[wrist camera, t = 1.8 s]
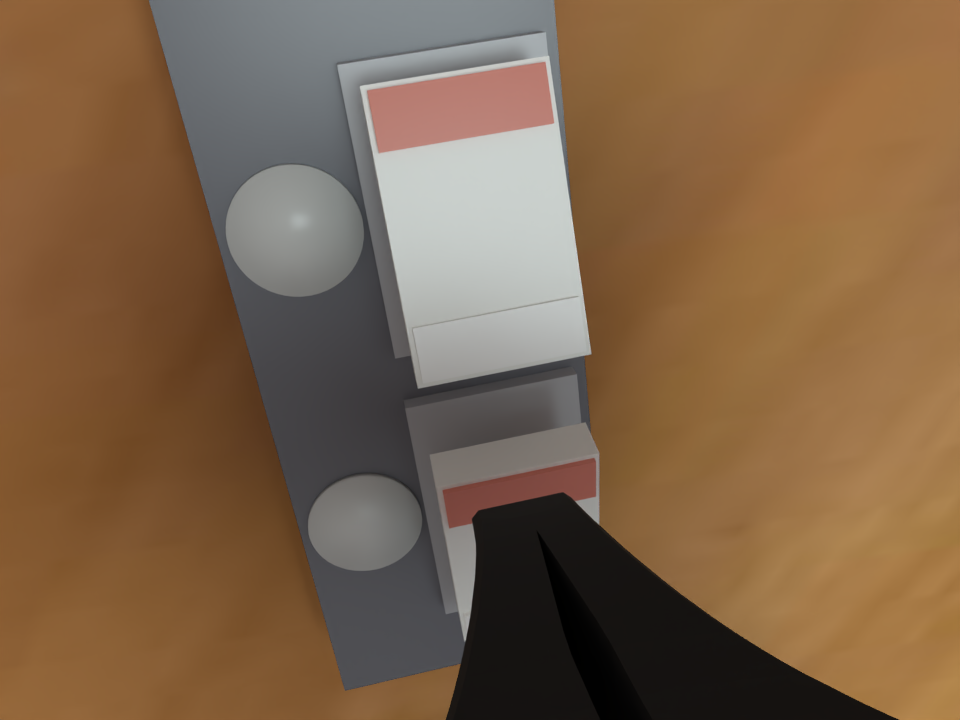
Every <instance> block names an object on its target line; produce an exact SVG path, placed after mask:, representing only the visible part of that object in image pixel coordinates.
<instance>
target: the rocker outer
mask: <svg viewBox="0 0 960 720" xmlns="http://www.w3.org/2000/svg"><path fill="white" fill-rule="evenodd" d="M360 95H361V100H362V105H363V110H364V115H365V121H366V126H367V131H368V136H369V141H370V147H371V152H372V157H373V162H374V167H375V172H376V178H377V183H378V188H379V193H380V198H381V204H382V209H383V214H384V219H385V224H386V229H387V235H388V240H389V245H390V250H391V255H392V261H393V266H394V271H395V276H396V281H397V286H398V292H399V297H400V302H401V307H402V312H403V318H404V323H405V328H406V333H407V338H408V343H409V349H410V354H411V359H412V364H413V369H414V375H415V379H416V383H417V386H418V389H419V388H424V387H429V386H434V385H439V384H444V383H449V382H454V381H459V380H464V379H469V378H474V377H479V376H484V375H489V374H494V373H500V372H505V371H510V370H515V369H520V368H525V367H530V366H535V365H540V364H545V363H550V362H555V361H560V360H565V359H570V358H575V357H580V356H585V355H590V354H591V348H590V341H589V333H588V326H587V319H586V312H585V305H584V298H583V291H582V284H581V277H580V270H579V263H578V256H577V249H576V242H575V235H574V228H573V221H572V214H571V207H570V200H569V193H568V186H567V178H566V171H565V164H564V157H563V150H562V143H561V136H560V129H559V122H558V115H557V108H556V101H555V94H554V87H553V80H552V73H551V66H550V59H549V56H543V57H537V58H531V59H524V60H518V61H512V62H506V63H500V64H493V65H487V66H481V67H475V68H468V69H462V70H456V71H450V72H444V73H437V74H431V75H425V76H419V77H412V78H406V79H400V80H394V81H388V82H381V83H375V84H369V85H363V86H360Z"/></svg>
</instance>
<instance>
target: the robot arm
mask: <svg viewBox="0 0 960 720" xmlns="http://www.w3.org/2000/svg"><path fill="white" fill-rule="evenodd" d="M472 524H473V530H474V536H475V542H476V566H475V581H474V589H473V598H472V606H471V614H470V620H469V626H468V631H467V636H466V641H465V646H464V651H463V655H462V660H461V665H460V670H459V674H458V678H457V682H456V686H455V690H454V693H453V697H452V701H451V704H450V708H449V711H448V714H447V717H446V720H898V719H896V718H894V717H891V716H889V715H887V714H885V713H883V712H881V711H878V710H876V709H874V708H872V707H870V706H868V705H865V704H863V703H861V702H859V701H857V700H855V699H853V698H851V697H849V696H847V695H845V694H843V693H841V692H839V691H838V690H836V689H834V688H832V687H830V686H828V685H826V684H824V683H822V682H820V681H818V680H816V679H814V678H812V677H810V676H808V675H806V674H804V673H802V672H800V671H798V670H797V669H795V668H793V667H791V666H789V665H788V664H786V663H784V662H782V661H780V660H779V659H777V658H775V657H774V656H772V655H770V654H769V653H767V652H765V651H764V650H762V649H761V648H759V647H757V646H756V645H754V644H752V643H751V642H749V641H748V640H746V639H744V638H743V637H741V636H740V635H738V634H737V633H735V632H734V631H732V630H731V629H729V628H728V627H726V626H725V625H723V624H722V623H720V622H719V621H717V620H716V619H714V618H713V617H712V616H710V615H709V614H707V613H706V612H705V611H703V610H702V609H700V608H699V607H698V606H696V605H695V604H694V603H692V602H691V601H689V600H688V599H687V598H685V597H684V596H683V595H681V594H680V593H679V592H677V591H676V590H675V589H674V588H672V587H671V586H670V585H668V584H667V583H666V582H665V581H663V580H662V579H661V578H660V577H658V576H657V575H656V574H655V573H654V572H652V571H651V570H650V569H649V568H648V567H646V566H645V565H644V564H643V563H641V562H640V561H639V560H638V559H637V558H635V557H634V556H633V555H632V554H631V553H630V552H628V551H627V550H626V549H625V548H624V547H623V546H622V545H620V544H619V543H618V542H617V541H616V540H615V539H614V538H613V537H612V536H611V535H609V534H608V533H607V532H606V531H605V530H604V529H603V528H602V527H601V526H600V525H599V524H598V523H597V522H595V521H594V520H593V519H592V518H591V517H590V516H589V515H588V514H587V513H586V512H585V511H584V510H583V509H582V508H581V507H580V506H579V505H578V504H577V503H576V502H575V501H574V500H573V499H572V498H571V497H570V496H568V495H567V494H565V493H564V492H561V493H556V494H552V495H547V496H542V497H538V498H533V499H528V500H524V501H519V502H514V503H510V504H505V505H501V506H496V507H491V508H487V509H482V510H478V512H477V513H476V514H475V515H474V516H473V518H472Z"/></svg>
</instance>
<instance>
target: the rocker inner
mask: <svg viewBox="0 0 960 720" xmlns="http://www.w3.org/2000/svg"><path fill="white" fill-rule="evenodd" d="M430 460H431V466H432V471H433V477H434V482H435V488H436V493H437V499H438V504H439V510H440V515H441V521H442V526H443V531H444V537H445V542H446V548H447V553H448V559H449V564H450V570H451V575H452V581H453V586H454V592H455V597H456V603H457V608H458V613H459V618H460V623H461V627H462V632H463V637H464V642H465V641H466V636H467V631H468V626H469V620H470V614H471V606H472V598H473V589H474V581H475V566H476V542H475V536H474V530H473V524H472V518H473V516H474V515H475V514H476V513H477V512H478V510H482V509H487V508H491V507H496V506H501V505H505V504H510V503H514V502H519V501H524V500H528V499H533V498H538V497H542V496H547V495H552V494H556V493H561V492H564V493H565V494H567V495H568V496H570V497H571V498H572V499H573V500H574V501H575V502H576V503H577V504H578V505H579V506H580V507H581V508H582V509H583V510H584V511H585V512H586V513H587V514H588V515H589V516H590V517H591V518H592V519H593V520H594V521H595V522H597V523H598V524H599V451H598V449H597V447H596V445H595V442H594V440H593V438H592V436H591V433H590V431H589V429H588V427H587V425H586V422H585V423H580V424H575V425H570V426H565V427H560V428H556V429H551V430H546V431H541V432H536V433H532V434H527V435H522V436H517V437H512V438H507V439H503V440H498V441H493V442H488V443H483V444H479V445H474V446H469V447H464V448H459V449H454V450H450V451H445V452H440V453H435V454H430Z"/></svg>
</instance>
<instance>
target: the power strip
mask: <svg viewBox="0 0 960 720" xmlns="http://www.w3.org/2000/svg"><path fill="white" fill-rule="evenodd" d="M149 3H150V6H151V10H152V13H153V17H154V20H155V24H156V27H157V31H158V34H159V38H160V41H161V45H162V48H163V52H164V55H165V59H166V62H167V66H168V69H169V73H170V76H171V80H172V83H173V87H174V90H175V94H176V98H177V101H178V105H179V108H180V112H181V115H182V119H183V122H184V126H185V129H186V133H187V136H188V140H189V143H190V147H191V150H192V154H193V157H194V161H195V164H196V168H197V171H198V175H199V178H200V182H201V185H202V189H203V193H204V196H205V200H206V203H207V207H208V210H209V214H210V217H211V221H212V224H213V228H214V231H215V235H216V238H217V242H218V245H219V249H220V252H221V256H222V259H223V263H224V266H225V270H226V273H227V277H228V281H229V284H230V288H231V291H232V295H233V298H234V302H235V305H236V309H237V312H238V316H239V319H240V323H241V326H242V330H243V333H244V337H245V340H246V344H247V347H248V351H249V354H250V358H251V361H252V365H253V368H254V372H255V376H256V379H257V383H258V386H259V390H260V393H261V397H262V400H263V404H264V407H265V411H266V414H267V418H268V421H269V425H270V428H271V432H272V435H273V439H274V442H275V446H276V449H277V453H278V456H279V460H280V464H281V467H282V471H283V474H284V478H285V481H286V485H287V488H288V492H289V495H290V499H291V502H292V506H293V509H294V513H295V516H296V520H297V523H298V527H299V530H300V534H301V537H302V541H303V544H304V548H305V551H306V555H307V559H308V562H309V566H310V569H311V573H312V576H313V580H314V583H315V587H316V590H317V594H318V597H319V601H320V604H321V608H322V611H323V615H324V618H325V622H326V625H327V629H328V632H329V636H330V639H331V643H332V647H333V650H334V654H335V657H336V661H337V664H338V668H339V671H340V675H341V678H342V682H343V685H344V689H345V691H346V690H350V689H354V688H359V687H363V686H367V685H372V684H376V683H380V682H384V681H389V680H393V679H397V678H401V677H406V676H410V675H414V674H418V673H423V672H427V671H431V670H436V669H440V668H444V667H448V666H453V665H457V664H461V660H462V655H463V651H464V646H465V642H464V637H463V632H462V627H461V623H460V618H459V613H458V608H457V603H456V597H455V592H454V586H453V581H452V575H451V570H450V564H449V559H448V553H447V548H446V542H445V537H444V531H443V526H442V521H441V515H440V510H439V504H438V499H437V493H436V488H435V482H434V477H433V471H432V466H431V460H430V454H435V453H440V452H445V451H450V450H454V449H459V448H464V447H469V446H474V445H479V444H483V443H488V442H493V441H498V440H503V439H507V438H512V437H517V436H522V435H527V434H532V433H536V432H541V431H546V430H551V429H556V428H560V427H565V426H570V425H575V424H580V423H585V422H586V425H587V427H588V429H589V431H590V433H591V430H590V418H589V406H588V394H587V383H586V371H585V359H584V356H580V357H575V358H570V359H565V360H560V361H555V362H550V363H545V364H540V365H535V366H530V367H525V368H520V369H515V370H510V371H505V372H500V373H494V374H489V375H484V376H479V377H474V378H469V379H464V380H459V381H454V382H449V383H444V384H439V385H434V386H429V387H424V388H419V389H418V386H417V383H416V379H415V375H414V369H413V364H412V359H411V354H410V349H409V343H408V338H407V333H406V328H405V323H404V318H403V312H402V307H401V302H400V297H399V292H398V286H397V281H396V276H395V271H394V266H393V261H392V255H391V250H390V245H389V240H388V235H387V229H386V224H385V219H384V214H383V209H382V204H381V198H380V193H379V188H378V183H377V178H376V172H375V167H374V162H373V157H372V152H371V147H370V141H369V136H368V131H367V126H366V121H365V115H364V110H363V105H362V100H361V95H360V86H363V85H369V84H375V83H381V82H388V81H394V80H400V79H406V78H412V77H419V76H425V75H431V74H437V73H444V72H450V71H456V70H462V69H468V68H475V67H481V66H487V65H493V64H500V63H506V62H512V61H518V60H524V59H531V58H537V57H543V56H549V59H550V66H551V73H552V80H553V87H554V94H555V101H556V108H557V115H558V122H559V129H560V136H561V143H562V150H563V157H564V164H565V171H566V178H567V186H568V193H569V200H570V207H571V195H570V183H569V172H568V160H567V148H566V136H565V125H564V113H563V101H562V90H561V78H560V66H559V54H558V43H557V31H556V19H555V7H554V0H149ZM571 214H572V207H571ZM572 221H573V218H572Z"/></svg>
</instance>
